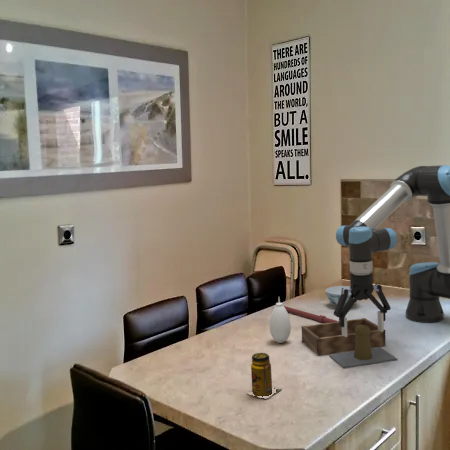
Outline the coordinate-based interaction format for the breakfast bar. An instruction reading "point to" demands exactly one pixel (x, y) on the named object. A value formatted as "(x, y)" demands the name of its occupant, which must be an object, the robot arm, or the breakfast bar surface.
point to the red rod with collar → (310, 315)
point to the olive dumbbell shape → (362, 343)
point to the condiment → (261, 375)
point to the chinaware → (336, 294)
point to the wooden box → (339, 336)
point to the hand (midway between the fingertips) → (362, 333)
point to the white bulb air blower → (280, 323)
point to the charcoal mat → (350, 361)
